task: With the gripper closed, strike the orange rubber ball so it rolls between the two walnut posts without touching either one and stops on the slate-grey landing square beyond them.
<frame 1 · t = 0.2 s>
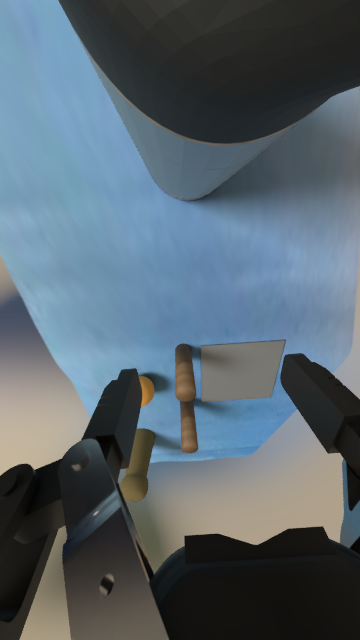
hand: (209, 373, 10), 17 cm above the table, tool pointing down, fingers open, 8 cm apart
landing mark: (238, 373, 34), on the table
post 2: (183, 350, 31), on the table
post 1: (186, 399, 37), on the table
ball: (139, 391, 32), on the table
brown pawn: (142, 435, 43), on the table
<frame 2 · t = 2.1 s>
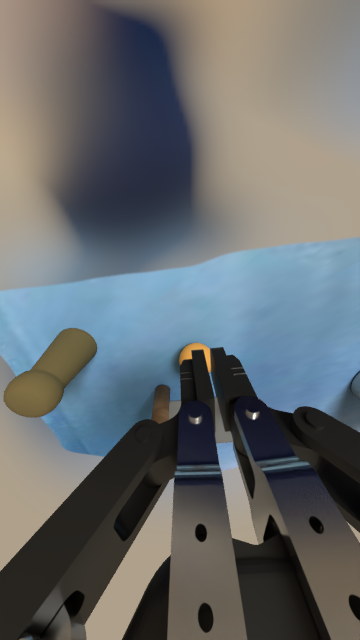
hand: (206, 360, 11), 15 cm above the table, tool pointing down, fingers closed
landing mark: (200, 422, 37), on the table
post 1: (162, 390, 33), on the table
ball: (196, 360, 27), on the table
brown pawn: (77, 344, 28), on the table
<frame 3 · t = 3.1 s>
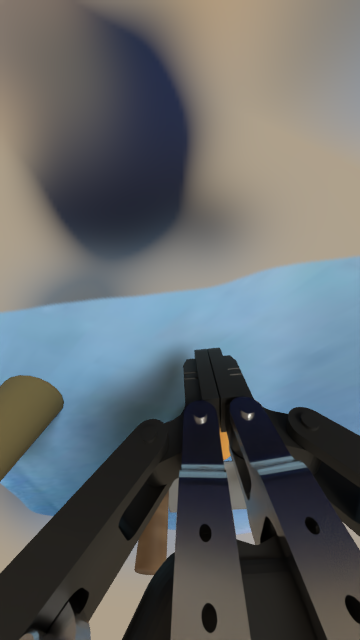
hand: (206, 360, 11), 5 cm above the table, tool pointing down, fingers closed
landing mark: (211, 488, 27), on the table
post 1: (160, 452, 23), on the table
brown pawn: (34, 396, 19), on the table
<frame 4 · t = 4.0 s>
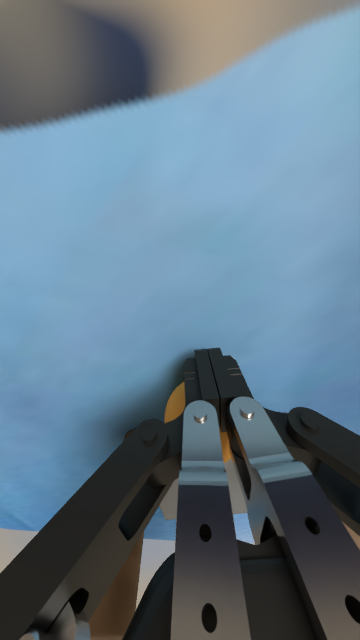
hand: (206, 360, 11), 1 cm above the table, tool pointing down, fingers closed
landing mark: (215, 486, 21), on the table
post 1: (139, 438, 16), on the table
ball: (203, 417, 12), on the table, touching gripper
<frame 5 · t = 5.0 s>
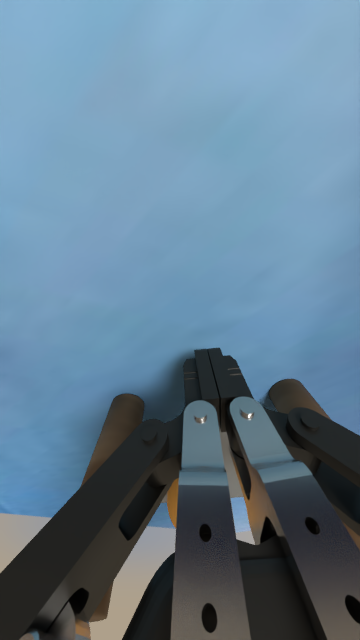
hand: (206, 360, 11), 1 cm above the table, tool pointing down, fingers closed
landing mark: (209, 465, 19), on the table
post 2: (285, 391, 14), on the table
post 1: (128, 405, 15), on the table
ball: (194, 497, 17), on the table
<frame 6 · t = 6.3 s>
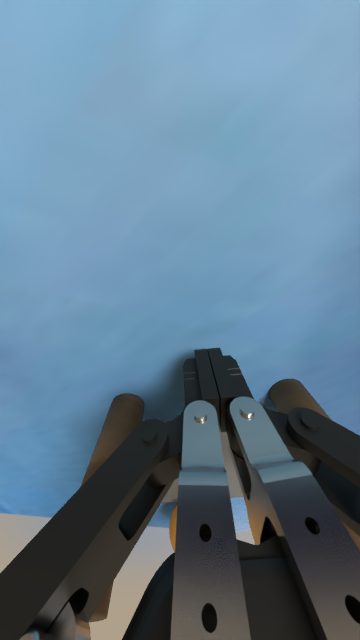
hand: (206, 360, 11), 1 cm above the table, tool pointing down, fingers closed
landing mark: (209, 465, 19), on the table
post 2: (285, 391, 14), on the table
post 1: (128, 405, 15), on the table
ball: (192, 528, 20), on the table
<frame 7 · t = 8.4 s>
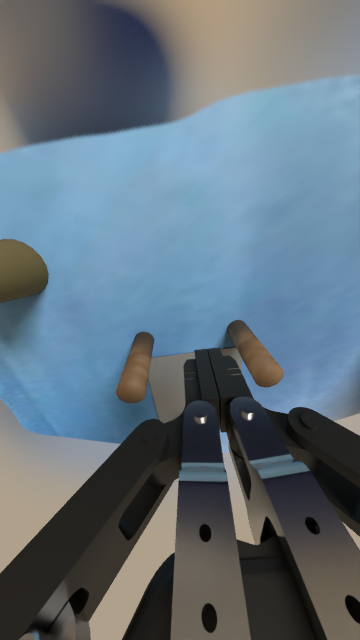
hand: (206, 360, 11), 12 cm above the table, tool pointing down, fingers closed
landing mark: (196, 388, 29), on the table
post 2: (236, 328, 25), on the table
post 1: (144, 340, 25), on the table
brown pawn: (20, 268, 20), on the table
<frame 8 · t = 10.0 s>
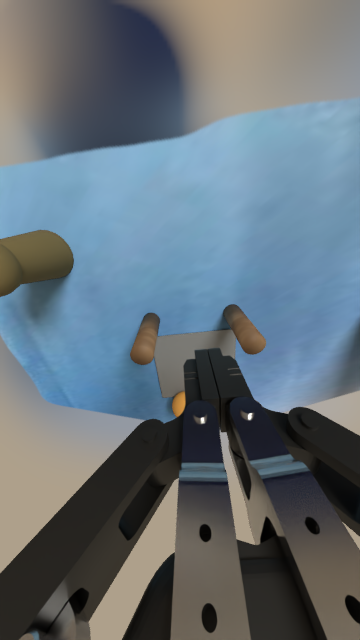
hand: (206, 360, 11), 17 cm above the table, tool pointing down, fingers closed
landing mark: (195, 366, 33), on the table
post 2: (231, 312, 28), on the table
post 1: (151, 320, 29), on the table
ball: (185, 405, 34), on the table
brown pawn: (50, 255, 24), on the table
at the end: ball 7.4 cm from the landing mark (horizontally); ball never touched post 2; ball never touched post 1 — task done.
